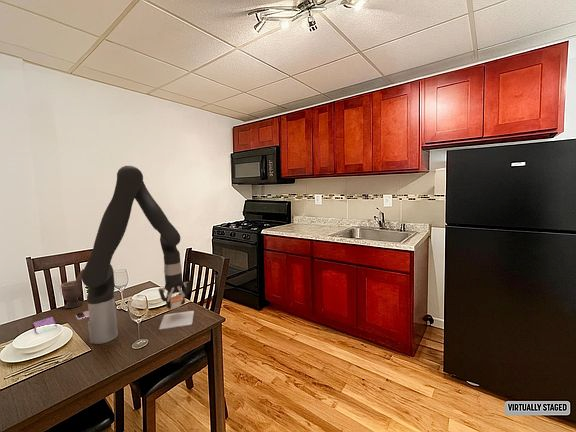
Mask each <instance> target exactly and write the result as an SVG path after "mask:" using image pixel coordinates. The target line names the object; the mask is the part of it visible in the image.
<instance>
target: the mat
mask: <svg viewBox="0 0 576 432" xmlns="http://www.w3.org/2000/svg"><path fill="white" fill-rule="evenodd" d="M194 314H195V310H190V311H189V310H188V311H182V312H174V313H168V314H164V315H163V317H162V320H161V323H160V325H159V328H158V330H160V331H162V330H168V329H173V328H181V327H187V326H192V325H193V320H194Z"/></svg>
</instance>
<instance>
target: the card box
mask: <svg viewBox="0 0 576 432" xmlns="http://www.w3.org/2000/svg"><path fill="white" fill-rule="evenodd" d="M182 301H183V296H182V294H181V295H180V294H178V295H175V296H171V297H170V305H171V308H170V309H169V308H167V311H172V310H176V309H179V308H181V306H182V304H181V303H182Z"/></svg>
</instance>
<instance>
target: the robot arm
mask: <svg viewBox="0 0 576 432" xmlns="http://www.w3.org/2000/svg"><path fill="white" fill-rule="evenodd" d="M112 195H113V196H112V197H111V200H110V201H109V203H108V204H107V207H106V209H105V211H104V213H103V215H102V217H101V221H100V222H99V227H98V230H97V233H96V236H95V240H94V242H93V248H92V250H91V254H90V256H89V258H88V260H87V262H86V264H85V265H84V266H85V267H84V268H83V269H84V270H83V272H82V279H81V282H82V283H83V284H84V285H85V286H86V287H88V292H87V296H86V302H87V309H88V310H87V311H89V317H88V318H89V320H88V321H87V329H88V337H89V344H95V345H99V344H105V343H109V342H111V341H113V340H114V339H116V338H117V337H118V336H119V329H118V321H117V311H116V303H115V301H116V300H115V287H116V286H115V275H114V268H113V265H112V264H111V262H112V259H113V256H114V254H115V252H116V250H117V249H118V247H119V245H120V243H121V242H122V240H123V239H124V238H123V237H124V236H125V233H126V231H127V227H128V225H129V221H130V217H131V213H132V209H133V204H134V201H136V202H137V204H138V205H139V207H140V209H141V210H142V213H143V214H144V216H145V217H146V219H147V220H148V222H149V224H151V226H152V227H153V229H154V230H156V231H157V232H158V233H159V235H160V236H159V242H160V246H161V250H162V254H163V265H164V266H163V273H164V284H165V285H164V287H162V288H161V287H159V288H158V292H159V295H160V299H161V301H162V302H165V304H166V307H167V309H168V308H169V309H170V308H171V305H170V297H173V295H174V294H177V293H179V295H181V294H182V296H183V301H182V303H181V306H183V305H185V303H186V299H185V298H186V296H188V295H189V292H190V282H189V281H185V282H184V281H183V269H182V263H181V253H180V251H179V250H178V248H177V246H178V245H179V244H180V242H181V239H182V238H181V235H180V233H179V231H178V230H177V229H176V226H175V227H174V225H173V224H172V223H171V222H170V220H169V218H168V217H167V215H166V214H165V212H164V210H163V209H162V207H161V206H160V205H159V204H158V202H157V201H156V200H155V199H154V197H153V196H152V195H151V193H150V192H149V190H148V188H147V186H146V184H145V182H144V174H143V173H142V171H141V170H140V169H139V168H138V167H136V166H134V165H124V166H121V167H120V168H119V169H118V171H117V173H116V182H115V187H114V191H113V194H112ZM183 287H184V291H183ZM165 291H167V293H166V296H165V294H164V293H165Z"/></svg>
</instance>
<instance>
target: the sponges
mask: <svg viewBox="0 0 576 432" xmlns="http://www.w3.org/2000/svg"><path fill="white" fill-rule="evenodd" d="M48 324H56V322H55V320H54V317H53V316H50V317H47V318H45V319H44V318H43V319H41V320H37V321H35V322H33V326H35V327H34V329H35V328H36V327H39V326H43V325H48Z"/></svg>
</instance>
